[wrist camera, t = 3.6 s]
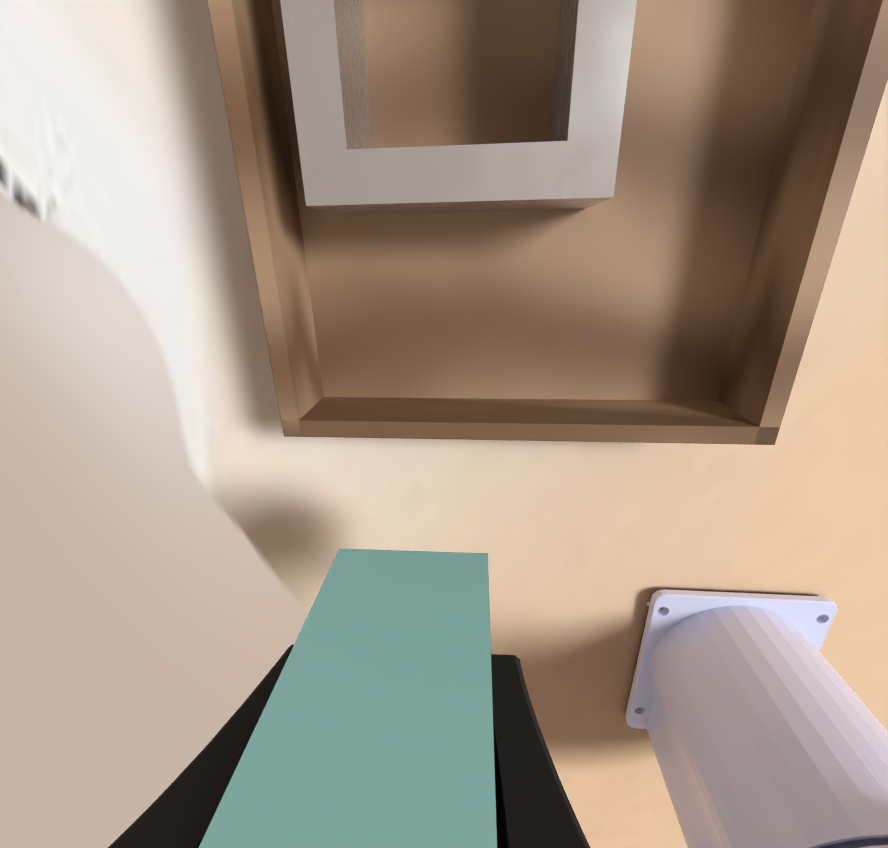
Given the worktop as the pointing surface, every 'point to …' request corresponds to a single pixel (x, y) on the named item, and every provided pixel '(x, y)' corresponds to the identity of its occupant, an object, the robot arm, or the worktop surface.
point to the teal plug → (376, 716)
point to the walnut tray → (562, 224)
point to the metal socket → (456, 166)
